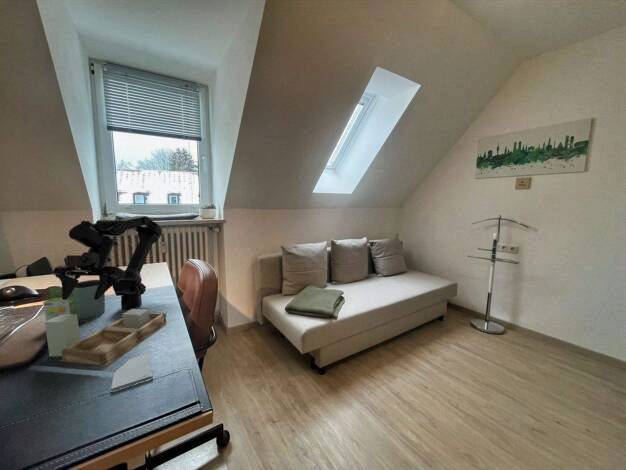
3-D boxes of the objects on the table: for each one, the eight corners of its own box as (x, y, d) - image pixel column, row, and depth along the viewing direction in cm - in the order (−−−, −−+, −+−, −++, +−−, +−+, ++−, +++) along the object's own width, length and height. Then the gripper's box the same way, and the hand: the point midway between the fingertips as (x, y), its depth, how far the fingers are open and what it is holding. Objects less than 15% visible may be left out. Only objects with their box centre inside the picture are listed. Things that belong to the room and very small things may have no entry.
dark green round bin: (78, 310, 99) (75, 281, 97) (111, 306, 103) (108, 278, 102) (68, 321, 90) (64, 289, 88) (104, 316, 94) (101, 285, 93)
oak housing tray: (132, 321, 91) (131, 311, 90) (168, 324, 89) (168, 313, 89) (60, 364, 67) (58, 350, 66) (107, 368, 66) (106, 354, 65)
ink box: (46, 330, 84) (41, 292, 82) (54, 324, 88) (50, 287, 86) (71, 327, 86) (67, 290, 84) (78, 322, 90) (74, 286, 88)
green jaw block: (64, 350, 73) (60, 314, 72) (81, 349, 74) (76, 314, 72) (50, 359, 69) (44, 322, 67) (67, 359, 69) (62, 321, 68)
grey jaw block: (133, 325, 86) (132, 308, 85) (150, 326, 86) (148, 309, 85) (124, 331, 82) (122, 313, 81) (140, 332, 82) (139, 315, 81)
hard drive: (152, 375, 62) (151, 350, 72) (110, 389, 57) (115, 360, 67) (153, 381, 62) (151, 355, 72) (111, 395, 57) (115, 365, 68)
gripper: (48, 242, 76) (22, 293, 69) (112, 243, 77) (92, 293, 70) (77, 256, 86) (56, 301, 79) (133, 256, 87) (117, 301, 80)
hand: (79, 299), depth 77 cm, fingers open, 9 cm apart
